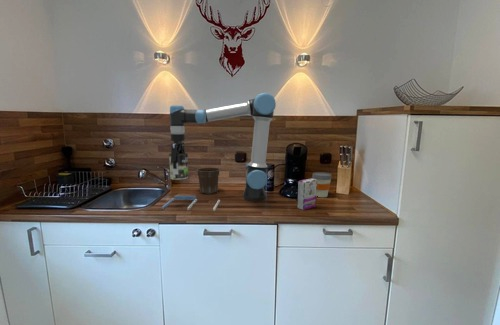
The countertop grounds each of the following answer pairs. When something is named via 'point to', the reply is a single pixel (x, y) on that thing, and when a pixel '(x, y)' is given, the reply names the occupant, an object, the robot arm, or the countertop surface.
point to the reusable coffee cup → (322, 183)
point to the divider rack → (178, 197)
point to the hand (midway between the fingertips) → (179, 172)
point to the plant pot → (208, 180)
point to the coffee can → (180, 167)
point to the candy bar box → (307, 193)
